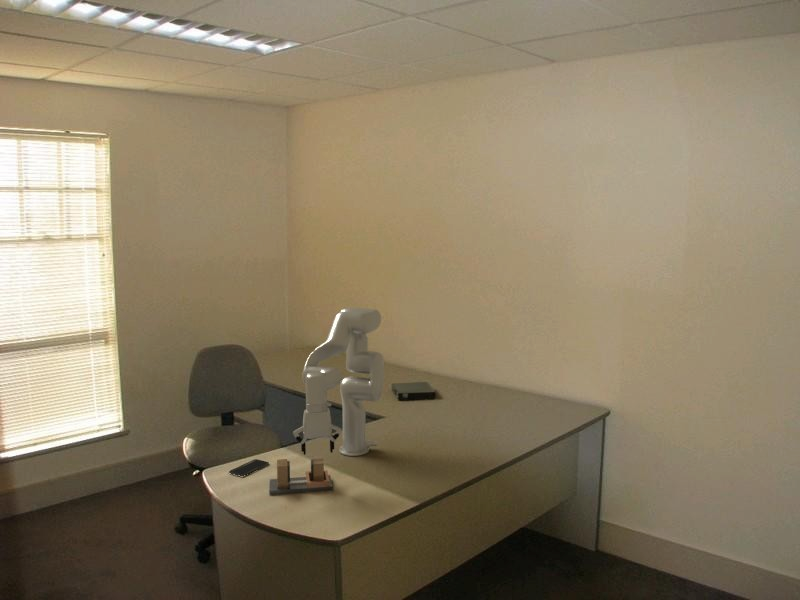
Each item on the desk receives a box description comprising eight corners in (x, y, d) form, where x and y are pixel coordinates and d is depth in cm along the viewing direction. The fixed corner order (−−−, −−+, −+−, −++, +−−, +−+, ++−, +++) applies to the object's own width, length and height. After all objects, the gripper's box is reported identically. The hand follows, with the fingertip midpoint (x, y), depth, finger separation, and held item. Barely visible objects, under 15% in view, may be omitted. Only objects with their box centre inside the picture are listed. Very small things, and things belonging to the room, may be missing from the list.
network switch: (387, 391, 352) (387, 383, 351) (426, 388, 359) (426, 380, 358) (399, 403, 330) (399, 393, 329) (440, 399, 337) (440, 390, 336)
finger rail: (330, 478, 231) (330, 454, 230) (332, 490, 221) (332, 464, 220) (269, 483, 227) (269, 458, 226) (269, 495, 217) (268, 469, 216)
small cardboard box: (323, 484, 222) (323, 463, 221) (311, 485, 222) (311, 464, 221) (323, 477, 229) (322, 456, 228) (311, 478, 228) (310, 457, 227)
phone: (227, 471, 236) (255, 458, 248) (227, 474, 236) (255, 461, 249) (243, 475, 232) (270, 462, 244) (243, 478, 232) (270, 465, 245)
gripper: (340, 401, 227) (340, 446, 230) (292, 405, 224) (293, 450, 226) (342, 408, 220) (342, 454, 222) (292, 411, 217) (293, 458, 219)
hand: (318, 452), depth 224 cm, fingers open, 9 cm apart
